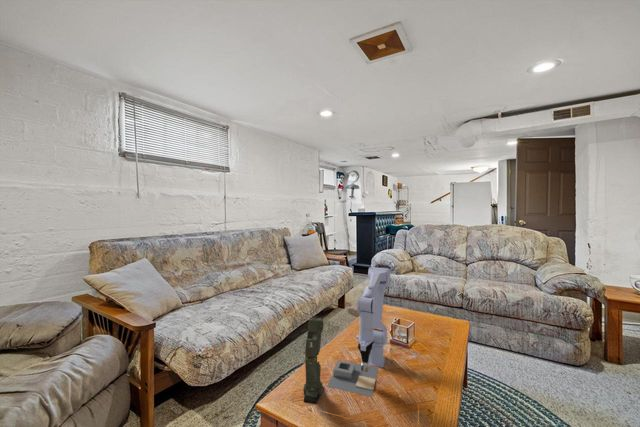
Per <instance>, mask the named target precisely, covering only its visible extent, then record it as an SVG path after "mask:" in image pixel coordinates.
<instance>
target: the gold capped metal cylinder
mask: <svg viewBox="0 0 640 427" xmlns="http://www.w3.org/2000/svg"><path fill="white" fill-rule="evenodd" d="M360 358H361V357H360ZM360 364H361V370H362V371H363V372H369V368H370V366H371V365H370V354H369V360H368V363H364V362H362V358H361V359H360Z"/></svg>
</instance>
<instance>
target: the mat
mask: <svg viewBox="0 0 640 427" xmlns="http://www.w3.org/2000/svg"><path fill="white" fill-rule="evenodd" d="M355 363H356V362H355ZM378 372H379V367H378V366H372V365H370V368H369V372H363V371H362V370H361V363H356V364H355V372H354V375H353V378H352V380H347V379H342V378H338V377H333V374H332V376H331V377H330V379H329V382H328V384H327V385H326V387H328V388H332V389H336V390H342V391H345V392H350V393H353V394H358V395H362V396H366V397H370V398H372V397H373V393H374V389H375V388H374V389H373V391H371V390H367V389H362V388H358V387H356V383H357V380H358V377H359V376H364V377H369V378H373V379H376V380H377V375H378Z"/></svg>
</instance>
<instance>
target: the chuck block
mask: <svg viewBox="0 0 640 427" xmlns="http://www.w3.org/2000/svg"><path fill="white" fill-rule="evenodd" d="M355 364H356V362H353V361H347V360H342V359H338V360H337V361H336V363H335V365H334V367H333V369H332V375H333V377H338V378H342V379H347V380H352V378H353V375H354V372H355Z"/></svg>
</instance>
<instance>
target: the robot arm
mask: <svg viewBox="0 0 640 427" xmlns="http://www.w3.org/2000/svg"><path fill="white" fill-rule="evenodd" d="M367 277H368V279H369V284H368V285H366V286H365V288H364V290H363V293H362V296H361V297H359V298H358V300H357V312H358V313H357V314H358V316H359V320H358V321H359V326H358V327H359V334H356V336H355V337H356V339H358V341H359V343H358V344H357V349H358V350H359V353H360V356H361V357H360V358H362V362H364V363H368V360H369V354H370V366H372V367H377V368H384V365H385V361H386V356H385V355H384V346H385V345H386V344H387V343H388V341H387V340H388V328H387V326H386V325H385V324H384V323H383V313H384V311H383V310H384V299H385V290H386V288H387V287H389V286H390V283H391V282H390V281H391V269H390V268H388V267H387V268H385V267H374V266H369V267H368V272H367Z"/></svg>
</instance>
